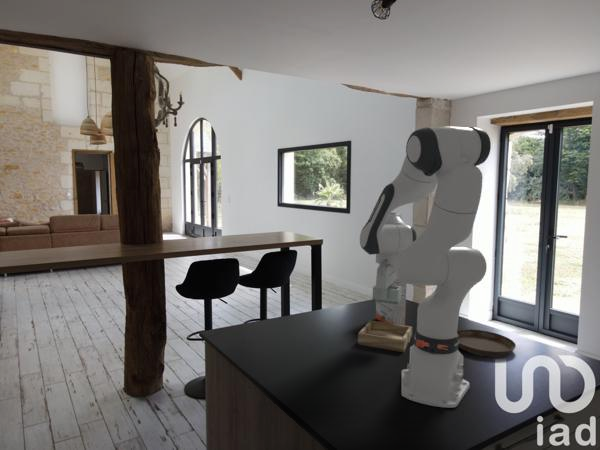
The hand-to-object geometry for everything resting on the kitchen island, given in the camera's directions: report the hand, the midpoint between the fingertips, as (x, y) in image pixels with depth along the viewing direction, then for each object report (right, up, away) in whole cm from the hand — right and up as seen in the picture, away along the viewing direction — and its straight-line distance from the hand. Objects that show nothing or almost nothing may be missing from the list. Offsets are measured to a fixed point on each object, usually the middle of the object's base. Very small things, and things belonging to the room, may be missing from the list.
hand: (387, 296), depth 150 cm
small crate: (0, -2, 0) cm, 2 cm away
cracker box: (+5, -15, +21) cm, 26 cm away
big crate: (0, -16, +2) cm, 17 cm away
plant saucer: (+33, -18, -3) cm, 37 cm away
